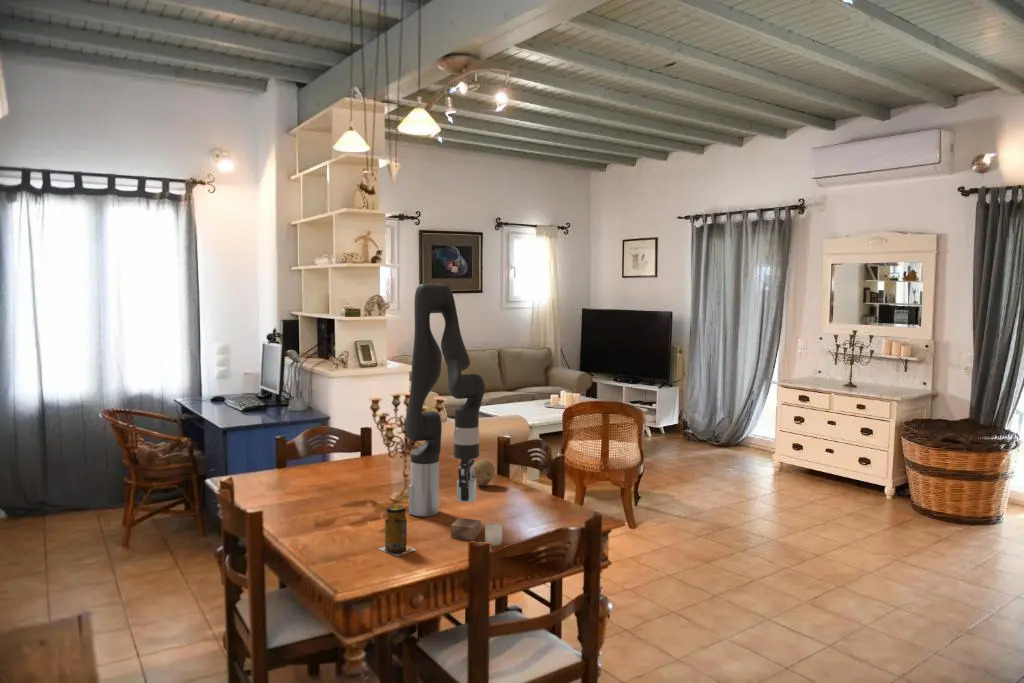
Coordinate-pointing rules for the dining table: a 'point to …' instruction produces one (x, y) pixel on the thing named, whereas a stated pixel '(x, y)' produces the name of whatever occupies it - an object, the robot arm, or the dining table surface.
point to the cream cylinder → (493, 533)
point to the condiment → (396, 531)
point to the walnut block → (466, 529)
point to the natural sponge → (483, 472)
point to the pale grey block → (471, 491)
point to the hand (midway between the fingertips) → (466, 497)
